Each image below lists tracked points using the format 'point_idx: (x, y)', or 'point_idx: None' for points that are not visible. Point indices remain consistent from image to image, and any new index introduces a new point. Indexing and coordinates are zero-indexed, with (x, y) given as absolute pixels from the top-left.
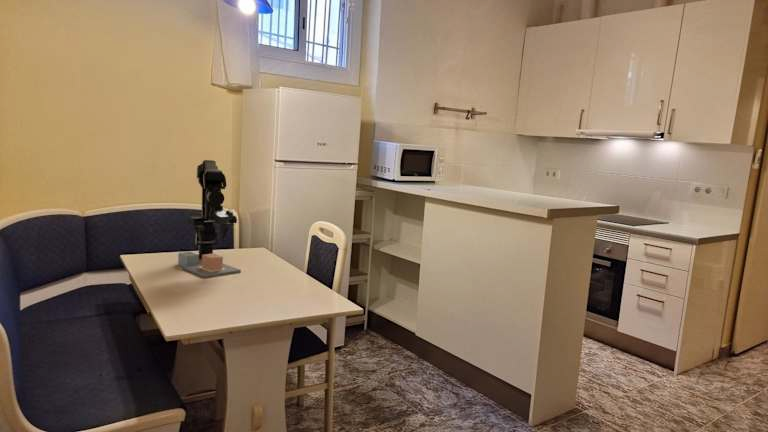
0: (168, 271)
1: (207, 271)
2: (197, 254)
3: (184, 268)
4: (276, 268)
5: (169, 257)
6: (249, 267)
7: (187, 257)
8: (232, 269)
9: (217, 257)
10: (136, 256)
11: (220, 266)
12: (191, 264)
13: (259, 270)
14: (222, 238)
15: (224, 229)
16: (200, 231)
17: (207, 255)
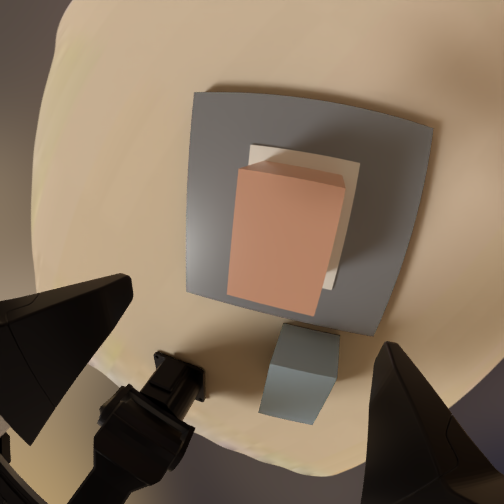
0: (421, 344)
1: (361, 183)
2: (270, 369)
3: (377, 322)
4: (71, 90)
5: (268, 436)
6: (120, 158)
7: (335, 372)
8: (222, 123)
9: (288, 175)
10: (321, 469)
11: (274, 164)
12: (316, 340)
13: (120, 90)
14: (117, 292)
15: (26, 335)
16: (477, 461)
17: (301, 277)
